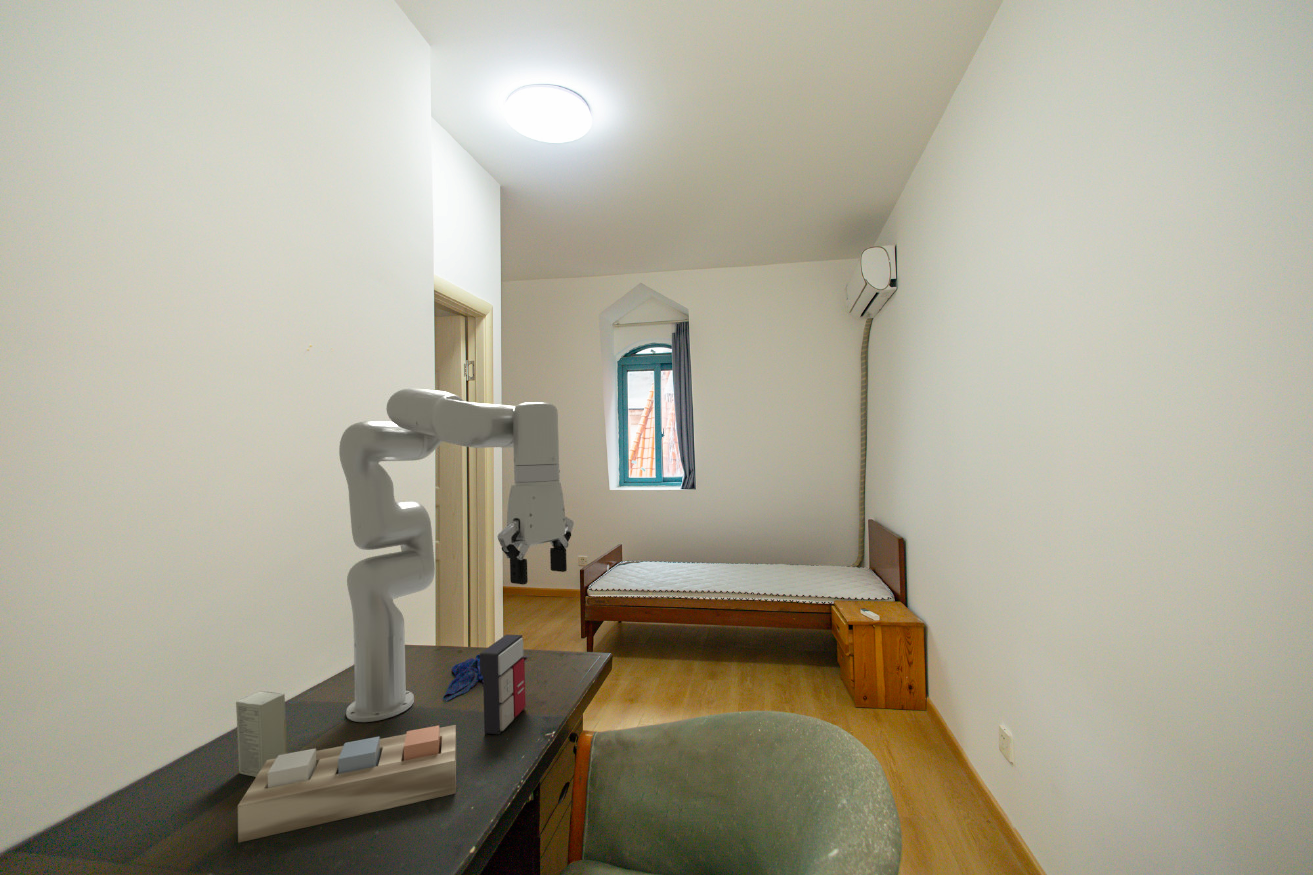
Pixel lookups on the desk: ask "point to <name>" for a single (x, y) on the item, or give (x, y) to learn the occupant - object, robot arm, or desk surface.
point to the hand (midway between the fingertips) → (539, 576)
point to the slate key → (359, 755)
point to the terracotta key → (422, 742)
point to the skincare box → (260, 730)
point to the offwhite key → (292, 768)
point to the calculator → (503, 682)
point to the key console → (347, 788)
